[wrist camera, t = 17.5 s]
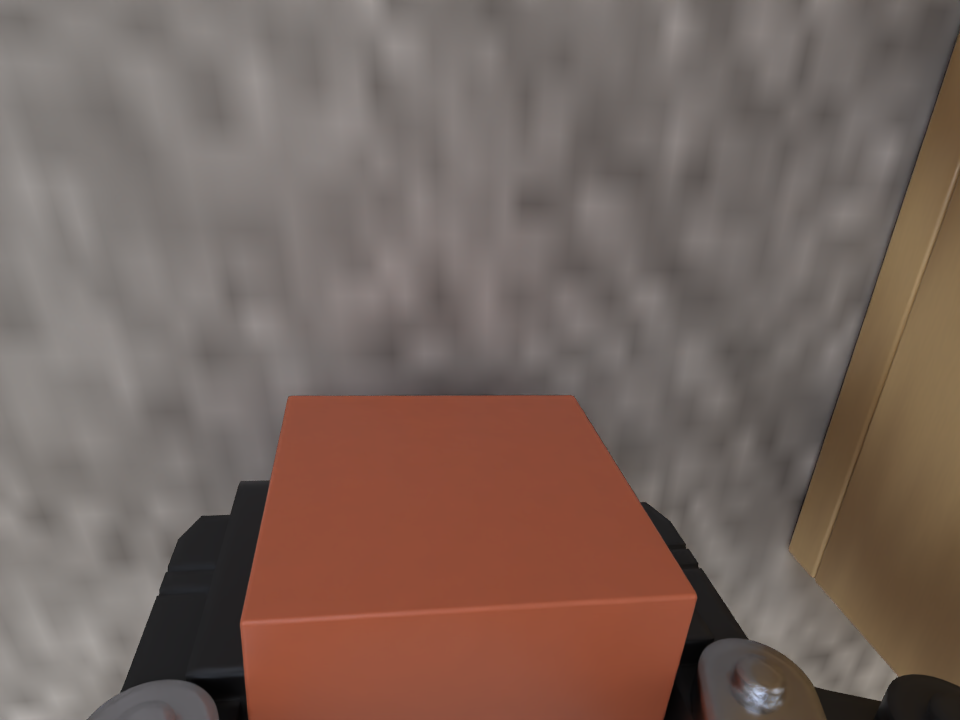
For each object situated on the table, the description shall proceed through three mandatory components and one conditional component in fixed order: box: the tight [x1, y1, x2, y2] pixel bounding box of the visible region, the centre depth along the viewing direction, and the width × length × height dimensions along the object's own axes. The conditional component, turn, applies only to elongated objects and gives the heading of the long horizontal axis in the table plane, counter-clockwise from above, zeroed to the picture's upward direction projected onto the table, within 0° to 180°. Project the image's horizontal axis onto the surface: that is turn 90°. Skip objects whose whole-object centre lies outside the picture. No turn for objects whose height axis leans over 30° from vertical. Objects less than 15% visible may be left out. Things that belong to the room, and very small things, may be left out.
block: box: [240, 395, 697, 720], centre depth 9 cm, size 4×4×4 cm
